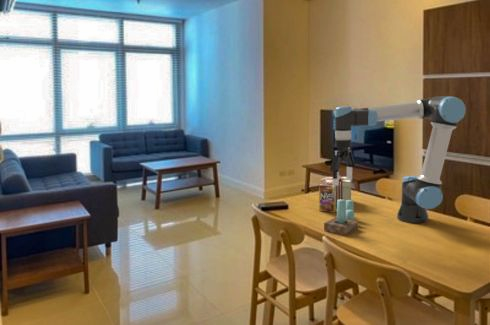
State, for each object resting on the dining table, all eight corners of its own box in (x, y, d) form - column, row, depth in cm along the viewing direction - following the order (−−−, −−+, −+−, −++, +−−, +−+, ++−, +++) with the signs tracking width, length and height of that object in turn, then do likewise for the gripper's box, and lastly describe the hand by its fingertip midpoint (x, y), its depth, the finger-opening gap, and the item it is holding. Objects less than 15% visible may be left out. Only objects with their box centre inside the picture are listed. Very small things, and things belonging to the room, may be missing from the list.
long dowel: (346, 229, 206) (347, 200, 204) (342, 231, 203) (343, 202, 201) (339, 227, 209) (339, 198, 206) (335, 230, 206) (335, 200, 203)
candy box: (318, 211, 238) (318, 185, 236) (321, 209, 242) (321, 183, 239) (333, 212, 234) (334, 186, 231) (336, 210, 238) (336, 184, 235)
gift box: (318, 200, 262) (318, 173, 259) (347, 199, 261) (348, 172, 258) (322, 207, 245) (322, 179, 242) (353, 207, 244) (354, 178, 241)
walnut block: (357, 229, 206) (358, 221, 206) (346, 235, 198) (346, 227, 197) (336, 224, 214) (336, 216, 214) (324, 230, 206) (324, 222, 205)
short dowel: (355, 223, 215) (355, 210, 214) (351, 225, 212) (351, 212, 211) (348, 222, 218) (348, 209, 216) (344, 224, 215) (344, 210, 213)
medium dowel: (354, 218, 223) (354, 200, 221) (351, 220, 220) (351, 202, 218) (347, 217, 225) (348, 199, 224) (344, 219, 222) (344, 201, 221)
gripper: (348, 135, 211) (347, 177, 214) (322, 141, 192) (322, 186, 196) (362, 136, 206) (361, 178, 209) (337, 142, 187) (336, 188, 191)
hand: (342, 182), depth 203 cm, fingers open, 13 cm apart
